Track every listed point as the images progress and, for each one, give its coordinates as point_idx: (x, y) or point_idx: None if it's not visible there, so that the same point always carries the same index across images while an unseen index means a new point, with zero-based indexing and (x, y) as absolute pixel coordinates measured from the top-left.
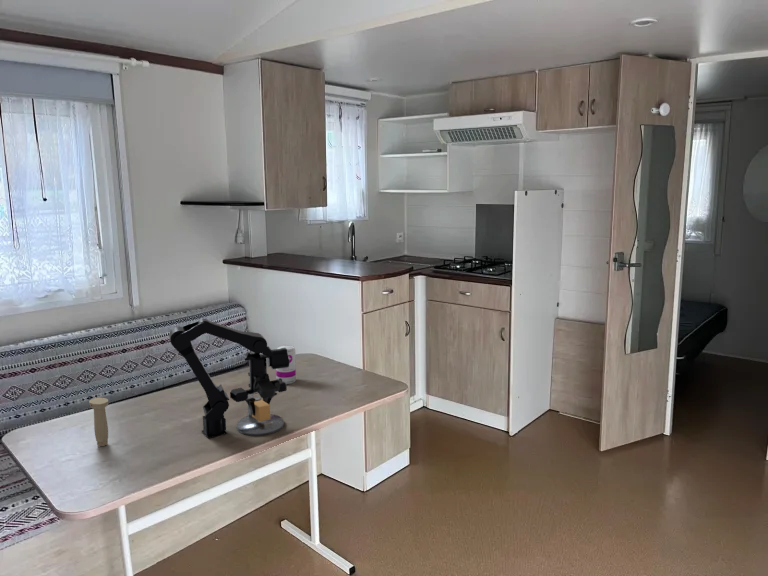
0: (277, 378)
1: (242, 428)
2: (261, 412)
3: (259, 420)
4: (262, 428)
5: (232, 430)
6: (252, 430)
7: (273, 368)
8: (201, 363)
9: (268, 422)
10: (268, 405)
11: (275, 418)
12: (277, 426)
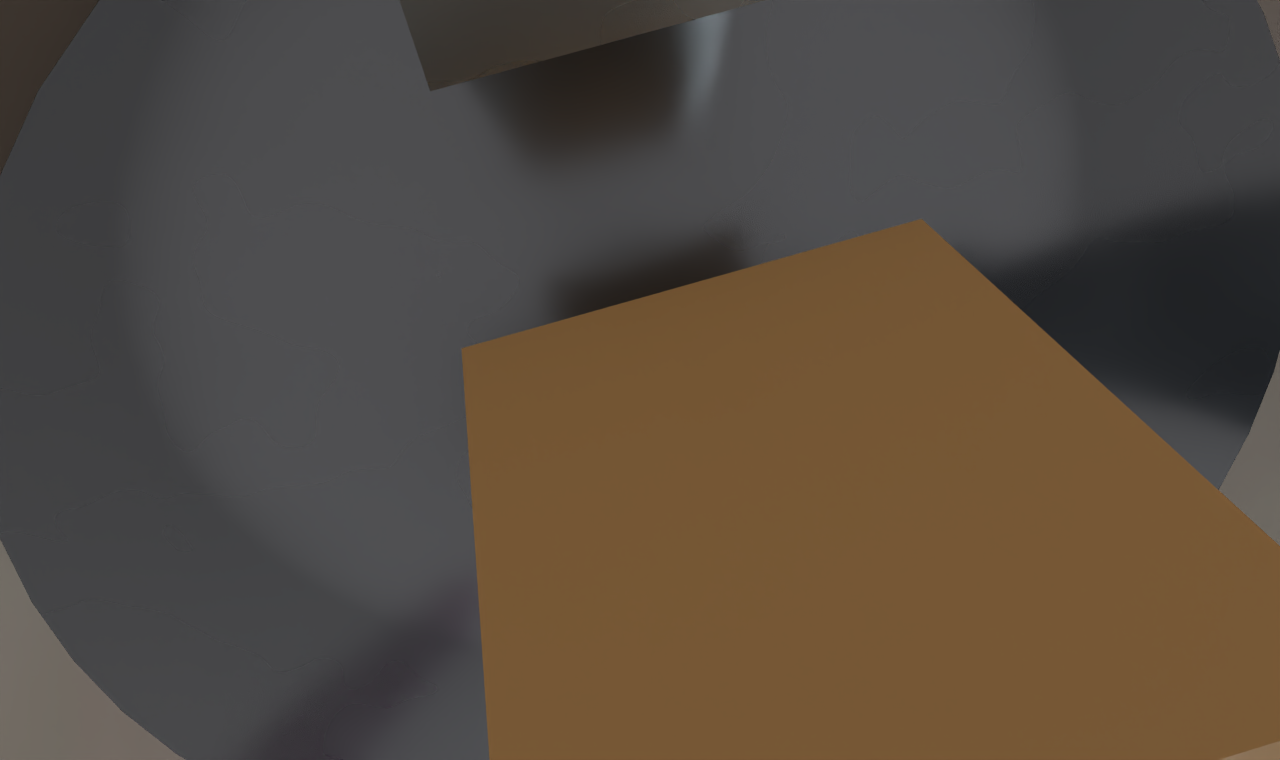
0: None
1: (1224, 273)
2: (1026, 468)
3: (945, 249)
4: (766, 66)
5: (1277, 377)
6: (1086, 34)
7: None
8: None
9: None
10: None
11: (246, 616)
12: (215, 26)
